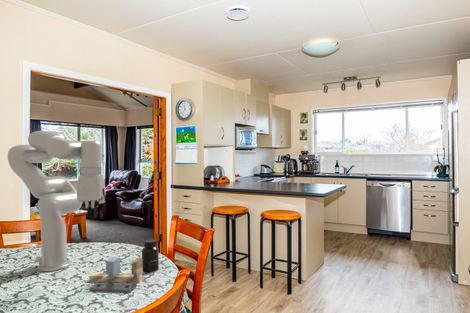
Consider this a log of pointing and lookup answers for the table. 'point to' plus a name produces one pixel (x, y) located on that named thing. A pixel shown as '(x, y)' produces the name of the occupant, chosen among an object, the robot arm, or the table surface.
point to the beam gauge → (131, 278)
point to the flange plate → (113, 287)
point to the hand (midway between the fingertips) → (91, 217)
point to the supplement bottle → (150, 256)
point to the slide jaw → (112, 267)
